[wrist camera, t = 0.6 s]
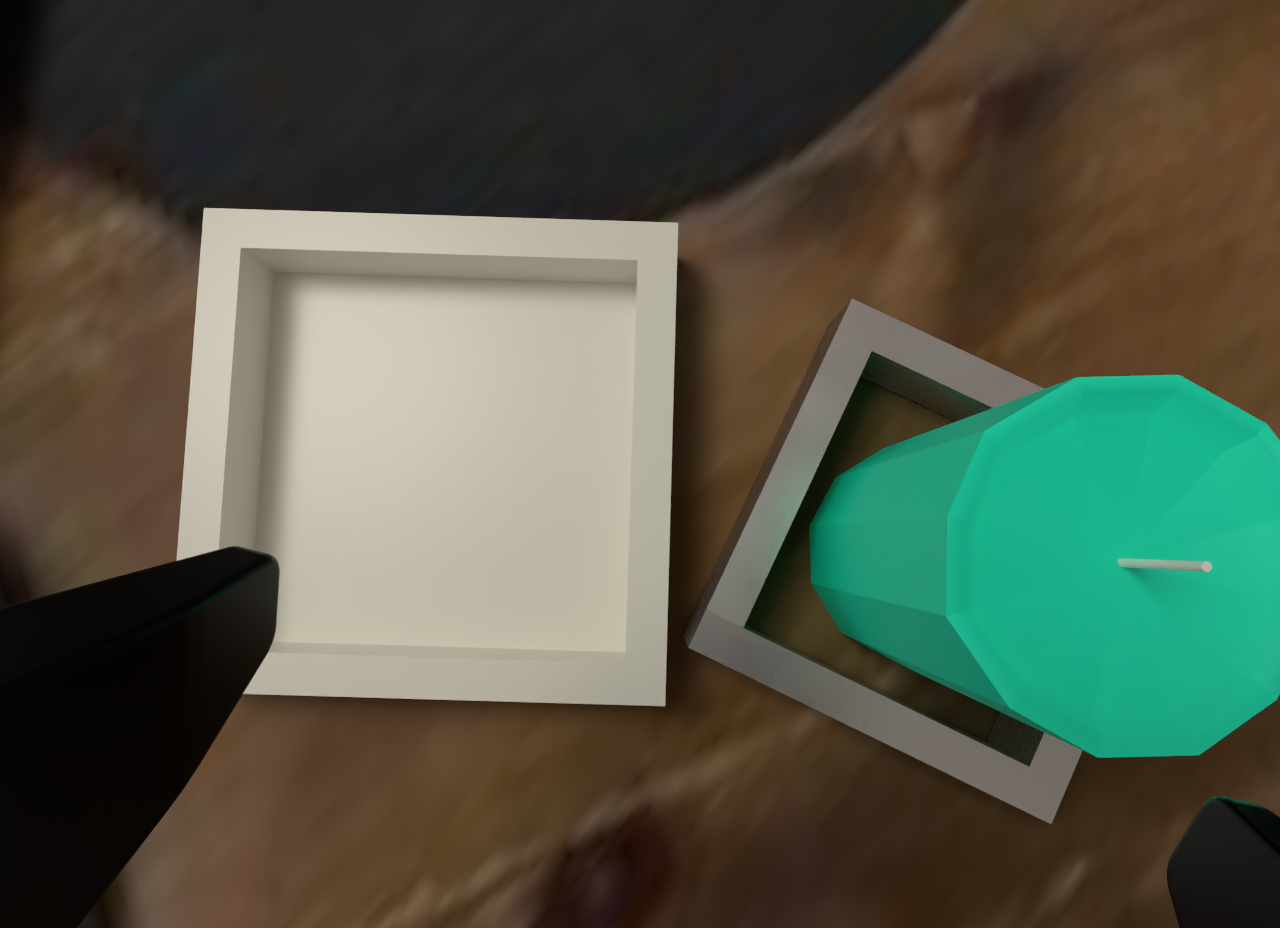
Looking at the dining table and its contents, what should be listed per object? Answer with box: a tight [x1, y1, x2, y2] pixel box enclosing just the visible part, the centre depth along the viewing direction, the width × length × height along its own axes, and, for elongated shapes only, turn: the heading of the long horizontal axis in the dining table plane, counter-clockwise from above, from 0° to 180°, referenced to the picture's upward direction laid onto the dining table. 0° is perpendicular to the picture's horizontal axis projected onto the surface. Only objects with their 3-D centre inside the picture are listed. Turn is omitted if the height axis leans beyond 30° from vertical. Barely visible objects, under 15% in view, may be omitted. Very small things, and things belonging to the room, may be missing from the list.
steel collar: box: [683, 299, 1083, 824], centre depth 22 cm, size 10×10×2 cm
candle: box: [809, 375, 1280, 758], centre depth 17 cm, size 6×6×12 cm
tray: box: [177, 208, 678, 706], centre depth 22 cm, size 12×12×2 cm
